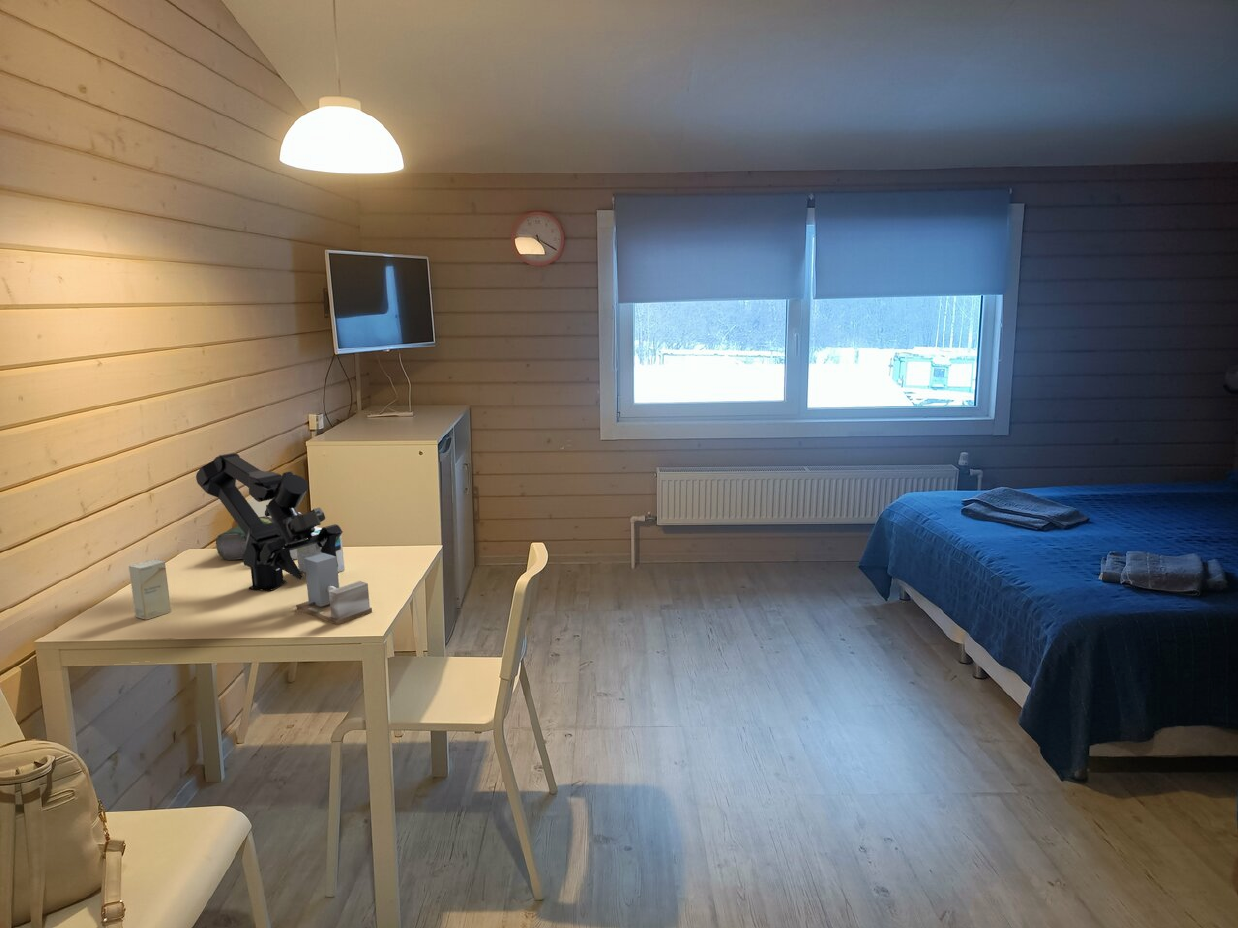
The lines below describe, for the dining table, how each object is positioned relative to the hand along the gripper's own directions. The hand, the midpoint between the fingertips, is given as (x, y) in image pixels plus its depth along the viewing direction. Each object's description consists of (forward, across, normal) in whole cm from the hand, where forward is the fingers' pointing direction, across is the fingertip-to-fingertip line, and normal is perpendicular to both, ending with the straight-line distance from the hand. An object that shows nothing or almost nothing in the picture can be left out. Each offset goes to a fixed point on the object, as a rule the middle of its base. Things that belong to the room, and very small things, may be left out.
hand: (319, 573), depth 198 cm
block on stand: (+9, 0, +3) cm, 9 cm away
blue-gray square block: (+6, -1, +3) cm, 7 cm away
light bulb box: (-10, +15, +22) cm, 28 cm away
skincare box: (-14, -25, +25) cm, 39 cm away
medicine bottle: (-23, +18, +35) cm, 46 cm away
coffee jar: (-33, +5, +38) cm, 50 cm away
